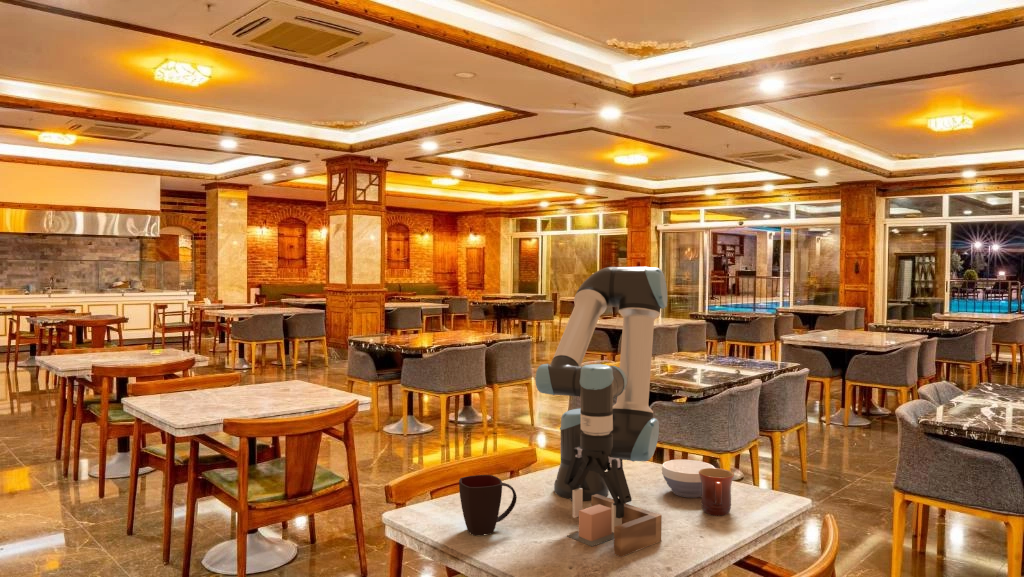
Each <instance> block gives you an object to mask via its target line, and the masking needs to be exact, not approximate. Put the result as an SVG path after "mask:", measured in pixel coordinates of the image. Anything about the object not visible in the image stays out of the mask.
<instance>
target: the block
mask: <svg viewBox="0 0 1024 577" xmlns="http://www.w3.org/2000/svg"><path fill="white" fill-rule="evenodd" d="M578 532H579V536H580V537H582V538H585V539H587V540H590V541H593V540H596V539H599V538H602V537H605V536H607V535H610V534H612V508H609V507H606V506H603V505H600V504H598V505H595V506H592V507H591V506H590V507H586V508H583V510H579V516H578Z"/></svg>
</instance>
